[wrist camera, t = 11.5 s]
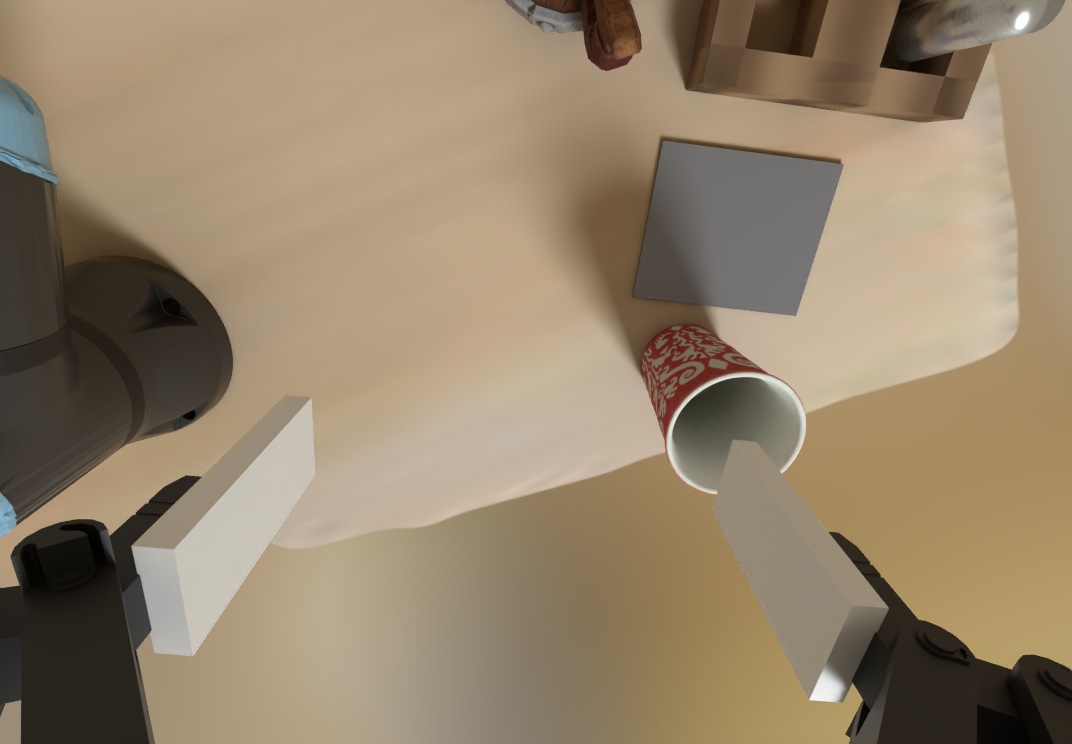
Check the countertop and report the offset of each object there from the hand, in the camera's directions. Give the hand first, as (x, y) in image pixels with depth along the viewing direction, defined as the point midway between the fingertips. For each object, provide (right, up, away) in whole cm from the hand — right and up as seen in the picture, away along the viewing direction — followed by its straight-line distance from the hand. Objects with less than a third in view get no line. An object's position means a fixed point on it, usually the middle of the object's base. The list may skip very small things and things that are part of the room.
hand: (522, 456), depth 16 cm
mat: (+16, +14, +26) cm, 33 cm away
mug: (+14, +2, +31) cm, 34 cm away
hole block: (+21, +26, +20) cm, 39 cm away
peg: (+25, +26, +21) cm, 42 cm away
